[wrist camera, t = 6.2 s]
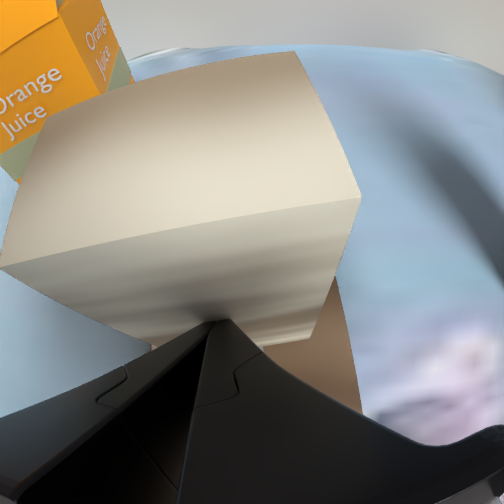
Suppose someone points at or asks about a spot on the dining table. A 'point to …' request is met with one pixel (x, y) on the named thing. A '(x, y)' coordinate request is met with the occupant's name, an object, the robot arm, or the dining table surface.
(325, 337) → the gauge board
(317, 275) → the slider block
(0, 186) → the dining table surface
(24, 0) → the orange juice
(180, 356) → the robot arm
